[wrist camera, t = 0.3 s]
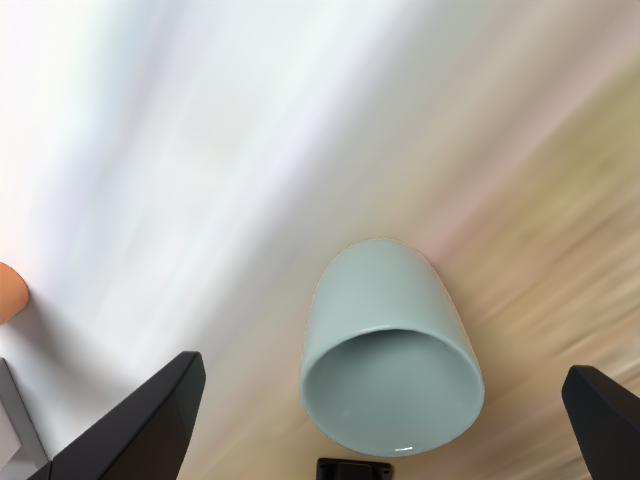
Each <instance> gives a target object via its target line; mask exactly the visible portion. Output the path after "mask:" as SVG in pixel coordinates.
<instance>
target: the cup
mask: <svg viewBox="0 0 640 480" xmlns="http://www.w3.org/2000/svg"><path fill="white" fill-rule="evenodd" d="M299 393H300V397H301V401H302V404H303V407H304V408H305V410H306V412H307V414H308V416H309V417H310V419H311V420H312V421H313V423H314V424H315V425H316V426H317V427H318V429H319V430H320V431H322V432H323V433H324V434H325V435H326V436H327V437H329V438H330V439H331V440H333V441H335V442H336V443H338V444H339V445H341V446H343V447H345V448H347V449H350V450H352V451H354V452H357V453H361V454H365V455H369V456H377V457H402V456H408V455H414V454H419V453H422V452H426V451H429V450H432V449H435V448H437V447H439V446H442V445H444V444H446V443H448V442H450V441H452V440H453V439H455V438H457V437H458V436H460V435H461V434H462V433H464V432H465V431H466V430H467V429H468V428H469V427H470V426H471V425H472V424H473V423H474V421H475V420H476V419H477V417H478V416H479V414H480V412H481V409H482V406H483V403H484V393H485V387H484V381H483V377H482V373H481V369H480V366H479V362H478V360H477V357H476V354H475V352H474V349H473V347H472V344H471V342H470V339H469V337H468V335H467V332H466V330H465V327H464V325H463V323H462V320H461V318H460V316H459V314H458V311H457V309H456V307H455V305H454V303H453V301H452V299H451V297H450V295H449V293H448V291H447V289H446V287H445V286H444V284H443V282H442V280H441V279H440V277H439V275H438V274H437V272H436V271H435V270H434V268H433V267H432V266H431V265H430V263H429V262H428V261H427V260H426V259H425V258H424V257H423V256H422V255H421V254H420V253H419V252H417V251H416V250H415V249H414V248H412V247H411V246H409V245H407V244H405V243H403V242H401V241H398V240H395V239H392V238H381V237H379V238H371V239H366V240H363V241H360V242H357V243H355V244H353V245H351V246H349V247H347V248H345V249H344V250H343V251H341V252H340V253H338V254H337V255H336V256H335V257H334V258H333V259H332V261H331V262H330V263H329V264H328V265H327V267H326V268H325V270H324V271H323V273H322V274H321V276H320V278H319V280H318V283H317V286H316V288H315V291H314V294H313V298H312V301H311V304H310V309H309V313H308V318H307V323H306V329H305V335H304V341H303V347H302V354H301V361H300V371H299Z"/></svg>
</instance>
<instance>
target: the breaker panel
mask: <svg viewBox="0 0 640 480" xmlns="http://www.w3.org/2000/svg"><path fill="white" fill-rule="evenodd" d="M47 462H48V459H47V457H46V455H45V452H44V450H43V448H42V446H41V443H40V441H39V439H38V437H37V434H36V432H35V430H34V427H33V425H32V423H31V421H30V418H29V416H28V414H27V412H26V409H25V407H24V405H23V402H22V400H21V398H20V396H19V393H18V391H17V389H16V387H15V384H14V382H13V380H12V377H11V375H10V373H9V371H8V368H7V366H6V364H5V362H4V359H3V358H0V480H26V479H27V478H29V477H30V476H31V475H33V474H34V473H35V472H36V471H37V470H39V469H40V468H41V467H42V466H43V465H45V464H46V463H47Z"/></svg>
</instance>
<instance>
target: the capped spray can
mask: <svg viewBox="0 0 640 480" xmlns="http://www.w3.org/2000/svg"><path fill="white" fill-rule="evenodd" d="M28 301H29V291H28V288H27V285H26V284H25V282H24V280H23V279H22V278H21V277H20V275H19V274H18V273H17V272H16V271H14V270H13V269H12V268H10V267H9V266H7V265H6V264H4V263H2V262H0V326H1V325H3V324H4V323H5V322H6V321H8V320H9V319H10V318H12V317H13V316H14V315H15V314H17V313H18V312H19V311H21V310H22V309H23V308H24V307H25V306H26V305H27V303H28Z"/></svg>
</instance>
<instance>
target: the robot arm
mask: <svg viewBox="0 0 640 480" xmlns="http://www.w3.org/2000/svg"><path fill="white" fill-rule="evenodd" d="M205 381H206V374H205V369H204V365H203V360H202V356H201V354H200V352H198V351H183V352H181V353H180V354H179V355H178V356H176V357H175V358H174V359H173V360H172V361H170V362H169V363H168V364H167V365H165V366H164V367H163V368H162V369H161V370H159V371H158V372H157V373H156V374H154V375H153V376H152V377H151V378H150V379H148V380H147V381H146V382H145V383H144V384H142V385H141V386H140V387H139V388H137V389H136V390H135V391H134V392H133V393H131V394H130V395H129V396H128V397H126V398H125V399H124V400H123V401H122V402H120V403H119V404H118V405H117V406H116V407H114V408H113V409H112V410H111V411H109V412H108V413H107V414H106V415H105V416H103V417H102V418H101V419H100V420H98V421H97V422H96V423H95V424H94V425H92V426H91V427H90V428H89V429H88V430H86V431H85V432H84V433H83V434H81V435H80V436H79V437H78V438H77V439H75V440H74V441H73V442H72V443H70V444H69V445H68V446H67V447H66V448H64V449H63V450H62V451H61V452H60V453H58V454H57V455H56V456H55V457H54V458H53V460H52V461H48V462H47V463H46V464H45V465H43V466H42V467H41V468H40V469H39V470H37V471H36V472H35V473H34V474H33V475H31V476H30V477H29V478H27V479H26V480H176V478H177V476H178V473H179V470H180V468H181V465H182V462H183V460H184V457H185V454H186V452H187V449H188V446H189V443H190V439H191V436H192V432H193V428H194V425H195V421H196V417H197V413H198V409H199V405H200V401H201V398H202V394H203V390H204V386H205ZM562 399H563V402H564V405H565V408H566V410H567V413H568V416H569V419H570V422H571V424H572V427H573V430H574V433H575V436H576V438H577V441H578V444H579V447H580V450H581V452H582V455H583V458H584V460H585V463H586V465H587V467H588V470H589V472H590V474H591V476H592V478H593V480H640V398H638V397H637V396H635V395H634V394H633V393H631V392H630V391H628V390H627V389H625V388H624V387H622V386H621V385H619V384H618V383H617V382H615V381H614V380H612V379H611V378H609V377H608V376H606V375H605V374H604V373H602V372H601V371H599V370H598V369H596V368H595V367H593V366H588V365H573V366H572V367H571V368H570V370H569V372H568V375H567V377H566V380H565V382H564V385H563V387H562ZM391 476H392V467H391V465H389V464H382V463H371V462H359V461H348V460H337V459H325V458H321V459H318V461H317V473H316V480H391Z"/></svg>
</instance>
